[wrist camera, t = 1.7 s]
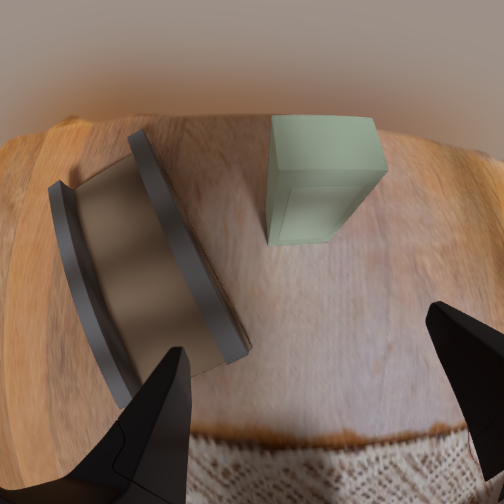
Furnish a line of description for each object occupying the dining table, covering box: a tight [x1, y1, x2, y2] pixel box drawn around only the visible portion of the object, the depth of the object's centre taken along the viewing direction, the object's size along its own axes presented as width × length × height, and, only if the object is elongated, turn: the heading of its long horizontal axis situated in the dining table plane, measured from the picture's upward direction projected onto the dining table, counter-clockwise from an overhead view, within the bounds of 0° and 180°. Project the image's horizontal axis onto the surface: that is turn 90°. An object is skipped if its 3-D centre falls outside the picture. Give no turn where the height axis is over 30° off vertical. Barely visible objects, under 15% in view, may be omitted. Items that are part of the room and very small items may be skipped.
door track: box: [48, 129, 252, 409], centre depth 21 cm, size 20×11×4 cm, turn 28°
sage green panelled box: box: [265, 115, 388, 246], centre depth 18 cm, size 3×5×12 cm, turn 94°
